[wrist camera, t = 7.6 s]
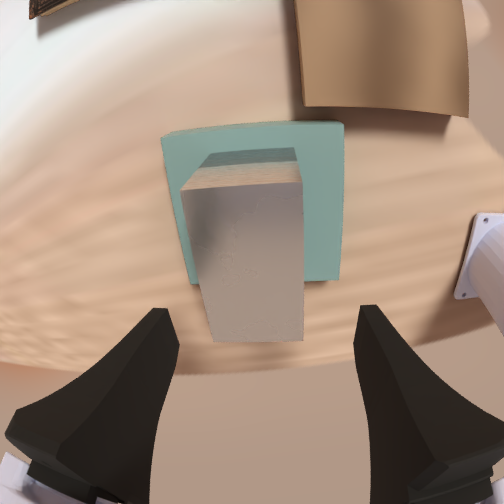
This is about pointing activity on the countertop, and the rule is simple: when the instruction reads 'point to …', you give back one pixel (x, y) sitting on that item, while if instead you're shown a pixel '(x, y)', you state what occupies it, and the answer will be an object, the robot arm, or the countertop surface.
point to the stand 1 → (311, 169)
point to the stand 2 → (384, 54)
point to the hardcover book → (46, 6)
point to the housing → (249, 243)
